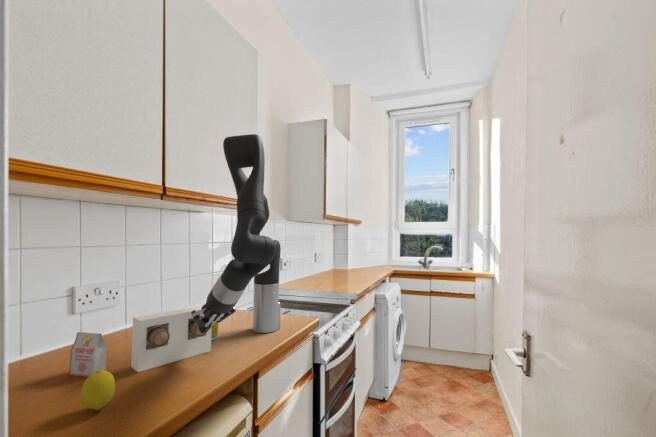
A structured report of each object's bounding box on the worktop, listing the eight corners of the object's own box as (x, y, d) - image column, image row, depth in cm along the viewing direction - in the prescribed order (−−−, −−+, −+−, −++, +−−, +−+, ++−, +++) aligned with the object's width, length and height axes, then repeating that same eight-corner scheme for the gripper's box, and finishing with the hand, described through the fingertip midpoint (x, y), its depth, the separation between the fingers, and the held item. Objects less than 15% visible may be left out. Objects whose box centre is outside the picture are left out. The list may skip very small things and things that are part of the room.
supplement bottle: (212, 341, 104) (213, 311, 104) (197, 340, 105) (198, 310, 106) (220, 336, 109) (221, 307, 110) (206, 335, 110) (207, 307, 111)
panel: (202, 346, 99) (204, 304, 100) (210, 350, 96) (212, 307, 96) (131, 366, 84) (133, 317, 85) (137, 372, 81) (139, 320, 81)
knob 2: (198, 330, 97) (198, 316, 97) (208, 335, 93) (208, 319, 93) (184, 334, 93) (184, 318, 94) (193, 338, 89) (194, 322, 90)
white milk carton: (83, 368, 83) (84, 329, 83) (105, 370, 81) (107, 331, 82) (69, 374, 79) (71, 334, 79) (93, 377, 78) (94, 336, 78)
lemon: (117, 409, 64) (119, 369, 64) (83, 421, 60) (85, 378, 60) (110, 399, 67) (111, 361, 68) (77, 410, 63) (79, 369, 64)
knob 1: (160, 339, 88) (161, 323, 89) (169, 344, 84) (170, 328, 85) (143, 343, 85) (144, 327, 85) (152, 349, 81) (152, 331, 81)
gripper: (242, 278, 91) (219, 315, 98) (198, 283, 81) (175, 324, 88) (253, 299, 87) (228, 336, 94) (208, 307, 77) (183, 347, 84)
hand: (202, 330), depth 91 cm, fingers closed
